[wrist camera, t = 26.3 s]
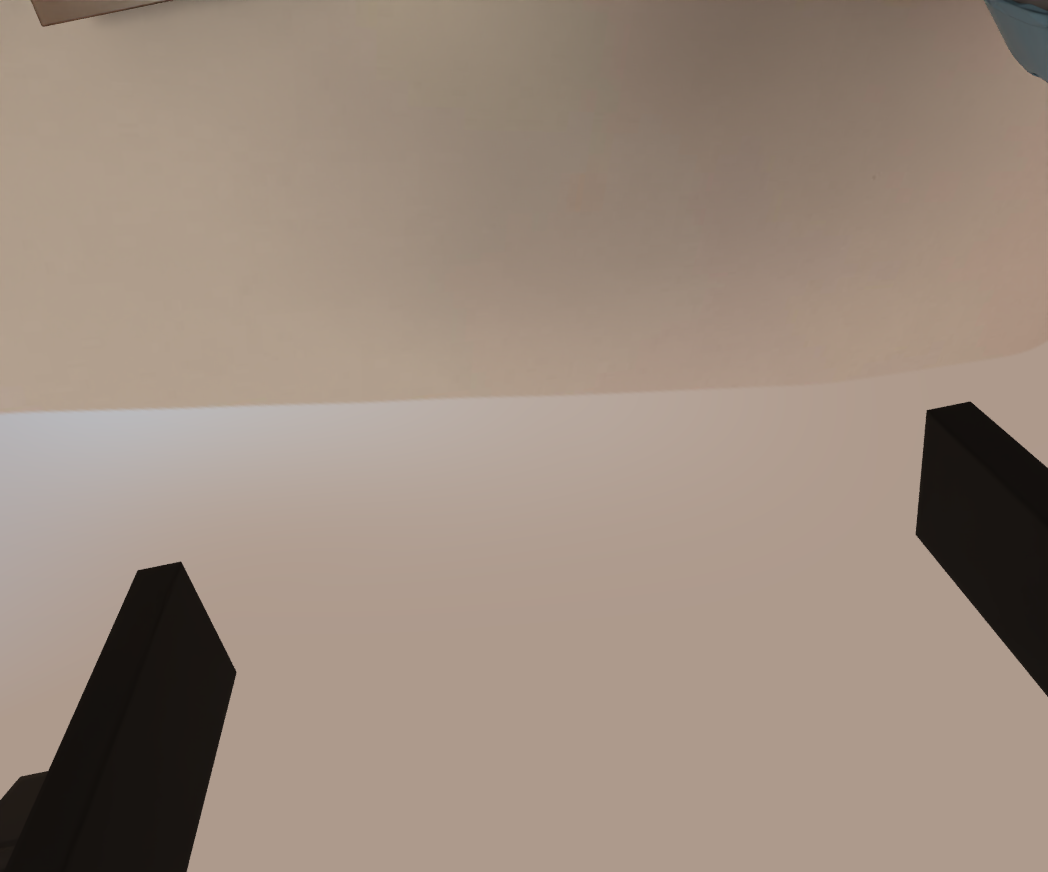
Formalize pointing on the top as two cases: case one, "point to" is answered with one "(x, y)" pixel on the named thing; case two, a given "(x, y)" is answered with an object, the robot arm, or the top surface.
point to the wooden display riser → (82, 8)
